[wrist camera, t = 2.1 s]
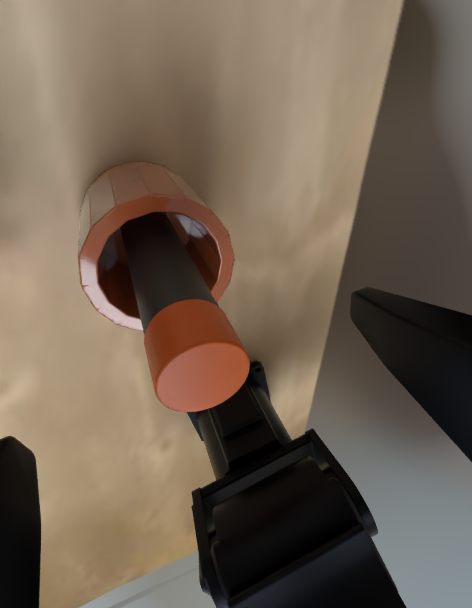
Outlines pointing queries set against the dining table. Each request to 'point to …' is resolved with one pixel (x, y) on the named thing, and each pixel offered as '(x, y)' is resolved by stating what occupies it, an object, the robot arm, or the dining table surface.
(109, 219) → the pen cup
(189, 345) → the marker
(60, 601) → the dining table surface
